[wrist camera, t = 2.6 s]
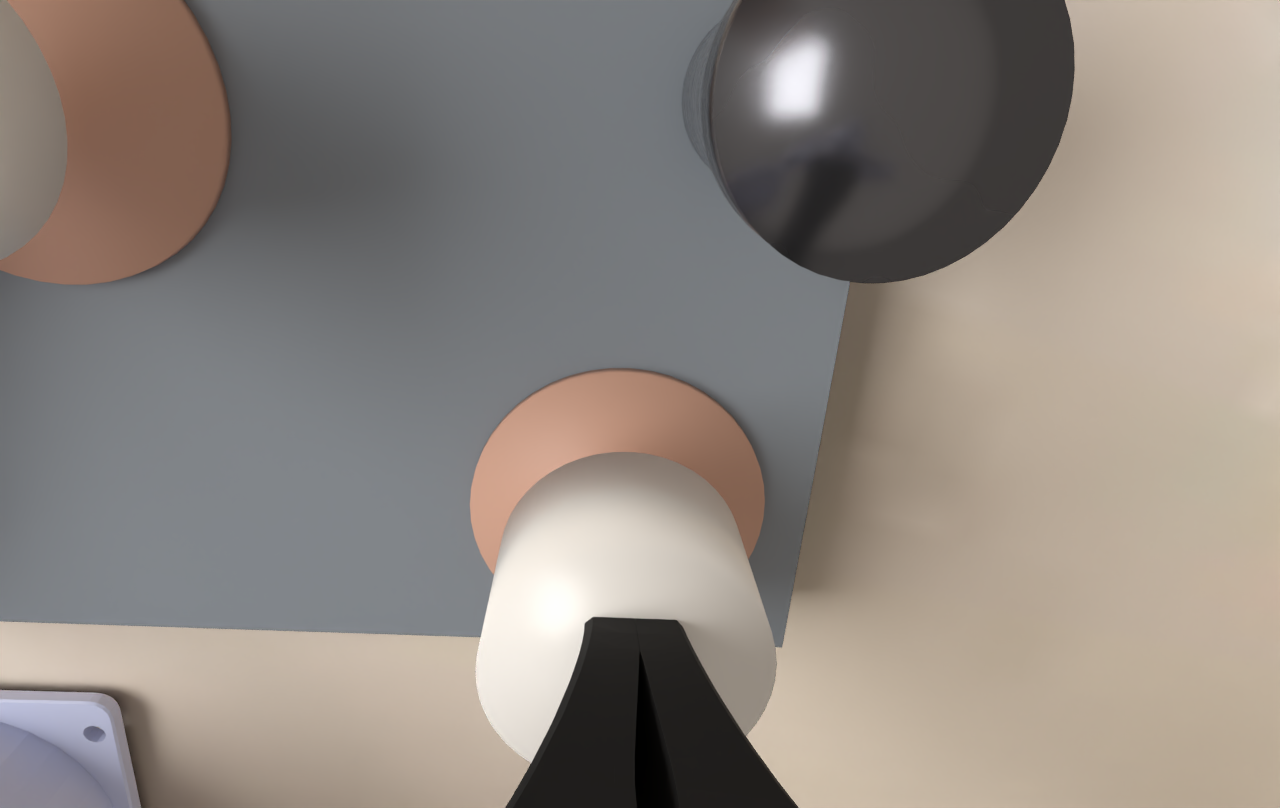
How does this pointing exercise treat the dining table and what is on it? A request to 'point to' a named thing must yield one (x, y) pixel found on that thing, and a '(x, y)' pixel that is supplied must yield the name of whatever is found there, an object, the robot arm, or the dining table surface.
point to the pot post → (880, 124)
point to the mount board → (379, 309)
